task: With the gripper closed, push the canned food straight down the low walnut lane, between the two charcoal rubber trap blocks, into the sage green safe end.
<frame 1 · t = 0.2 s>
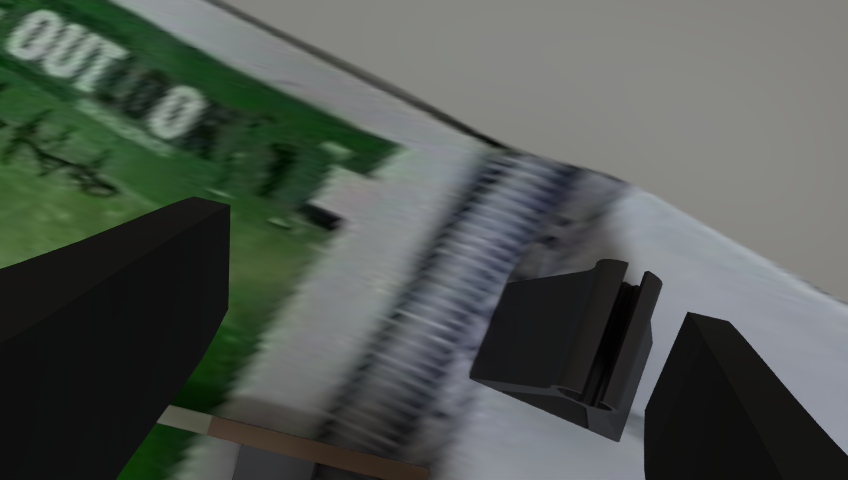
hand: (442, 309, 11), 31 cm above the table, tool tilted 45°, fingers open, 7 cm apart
phone stand: (559, 361, 42), on the table
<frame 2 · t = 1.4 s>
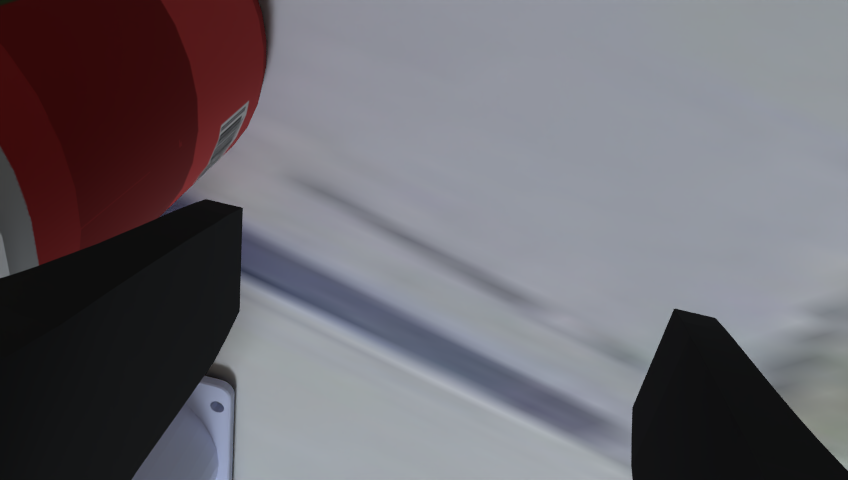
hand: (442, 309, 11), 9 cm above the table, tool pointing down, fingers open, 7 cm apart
canned food: (148, 28, 20), on the table
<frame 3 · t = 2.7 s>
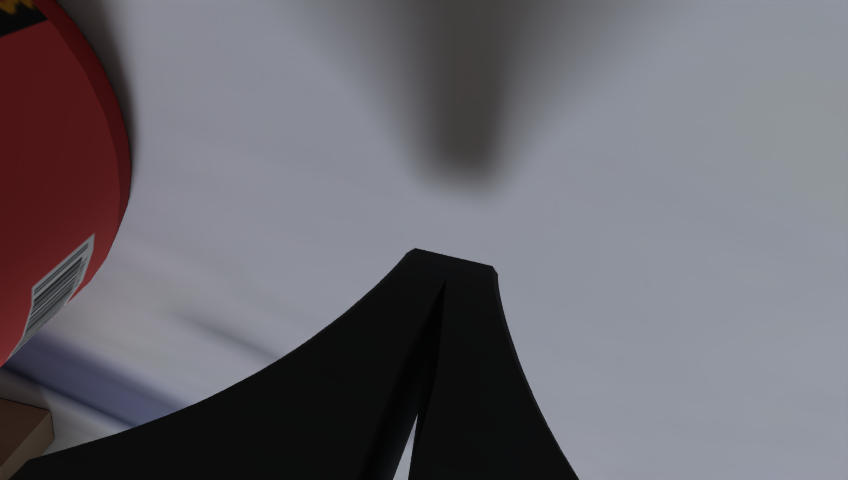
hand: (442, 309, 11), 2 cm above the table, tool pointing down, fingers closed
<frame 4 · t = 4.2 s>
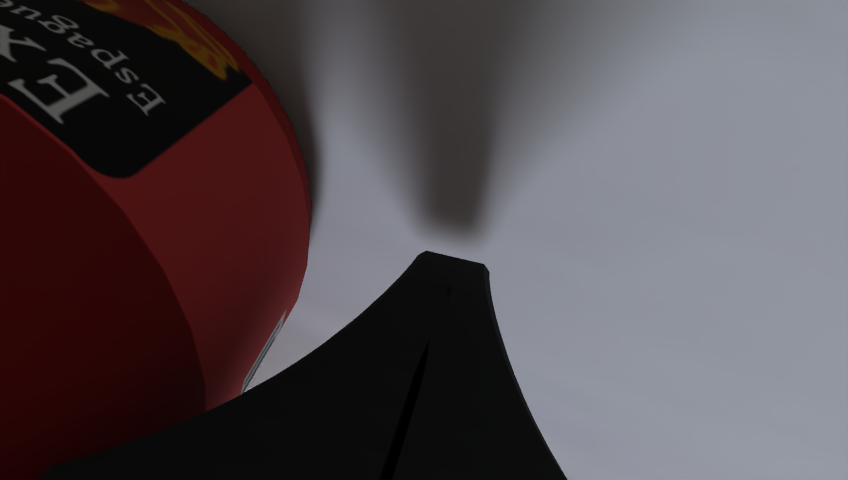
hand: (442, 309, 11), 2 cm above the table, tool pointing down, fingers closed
canned food: (130, 176, 13), on the table, touching gripper
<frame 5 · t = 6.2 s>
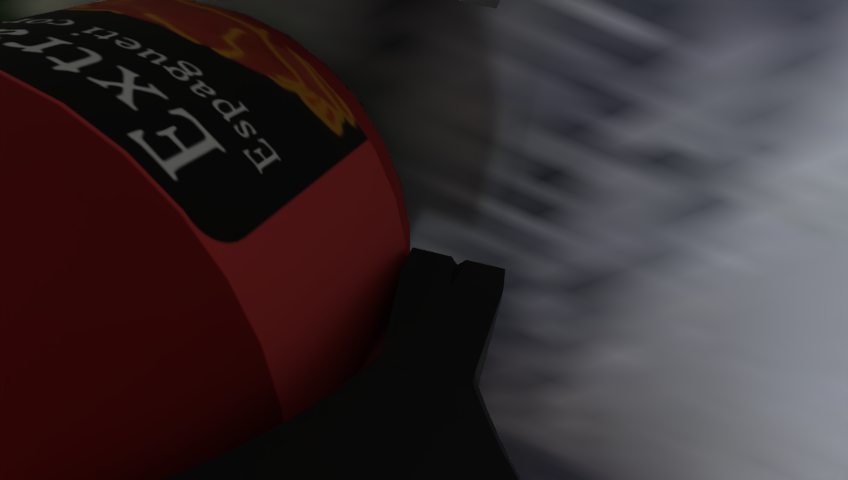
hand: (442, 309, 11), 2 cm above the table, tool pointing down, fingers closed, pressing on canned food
canned food: (229, 215, 13), on the table, touching gripper
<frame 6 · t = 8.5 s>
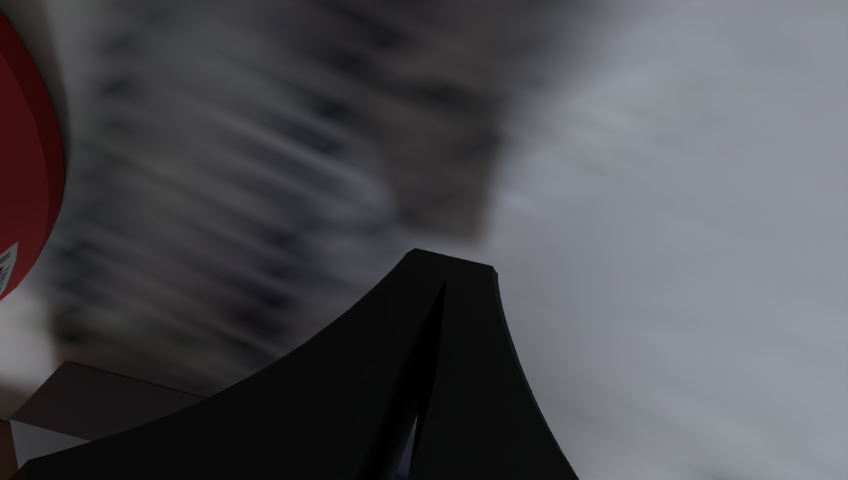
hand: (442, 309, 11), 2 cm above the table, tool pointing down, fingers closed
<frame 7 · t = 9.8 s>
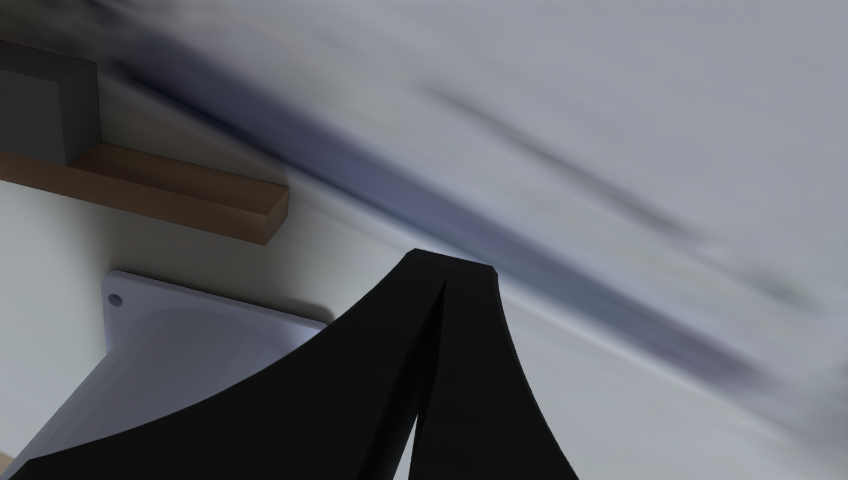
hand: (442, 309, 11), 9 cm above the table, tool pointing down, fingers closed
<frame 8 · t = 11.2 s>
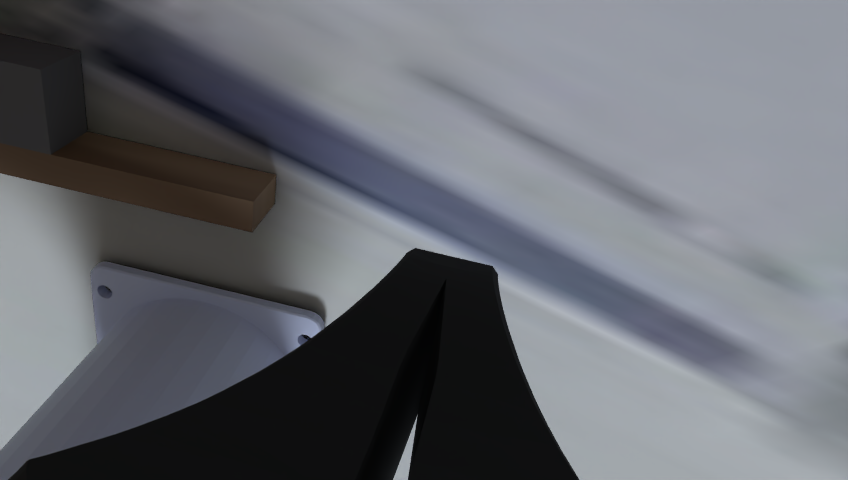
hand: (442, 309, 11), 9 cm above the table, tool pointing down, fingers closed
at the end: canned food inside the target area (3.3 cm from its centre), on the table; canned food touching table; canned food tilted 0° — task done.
